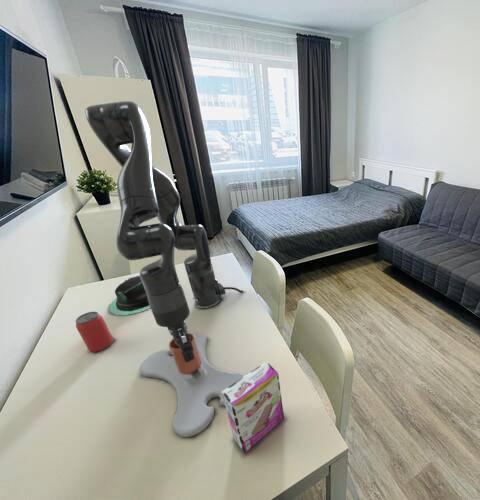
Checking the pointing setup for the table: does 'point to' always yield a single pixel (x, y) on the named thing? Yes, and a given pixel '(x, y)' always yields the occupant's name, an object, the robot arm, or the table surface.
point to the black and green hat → (130, 297)
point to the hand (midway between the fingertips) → (186, 352)
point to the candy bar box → (254, 405)
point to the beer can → (94, 331)
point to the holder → (190, 387)
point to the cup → (179, 359)
